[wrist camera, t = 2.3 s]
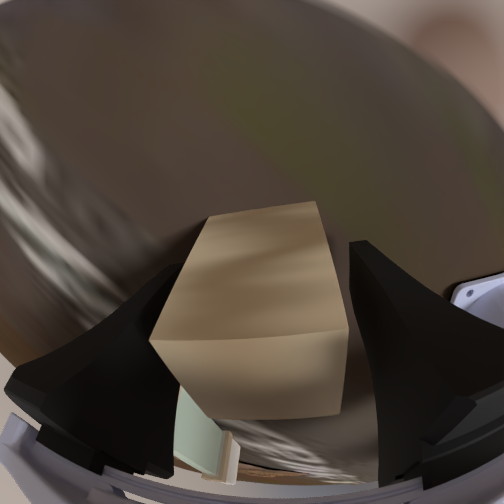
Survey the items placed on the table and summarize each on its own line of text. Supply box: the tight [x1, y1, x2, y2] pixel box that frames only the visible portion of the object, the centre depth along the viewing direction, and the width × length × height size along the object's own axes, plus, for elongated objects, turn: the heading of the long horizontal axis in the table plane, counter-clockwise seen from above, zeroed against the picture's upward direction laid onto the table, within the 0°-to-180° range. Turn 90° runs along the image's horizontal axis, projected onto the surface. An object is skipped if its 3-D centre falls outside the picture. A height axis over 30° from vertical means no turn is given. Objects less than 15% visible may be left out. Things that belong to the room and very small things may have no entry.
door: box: [174, 387, 223, 475], centre depth 17 cm, size 2×10×5 cm, turn 12°
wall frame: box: [177, 385, 240, 485], centre depth 18 cm, size 2×21×6 cm, turn 12°
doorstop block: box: [149, 201, 349, 420], centre depth 8 cm, size 4×4×6 cm
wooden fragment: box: [174, 456, 310, 477], centre depth 33 cm, size 26×11×1 cm, turn 63°
